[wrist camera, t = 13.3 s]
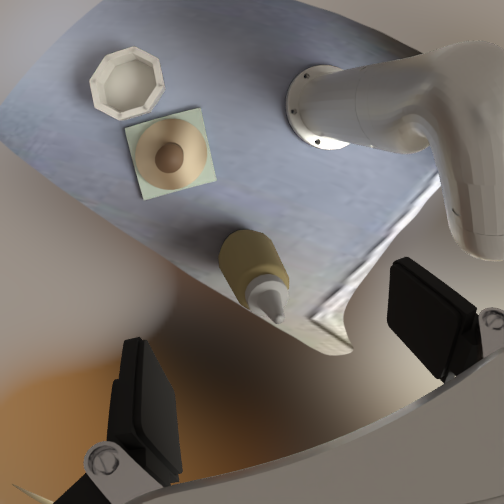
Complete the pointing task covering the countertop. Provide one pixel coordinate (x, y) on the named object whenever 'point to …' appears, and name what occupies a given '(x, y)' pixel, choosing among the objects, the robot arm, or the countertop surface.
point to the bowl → (127, 84)
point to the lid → (171, 154)
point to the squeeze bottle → (255, 273)
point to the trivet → (137, 130)
